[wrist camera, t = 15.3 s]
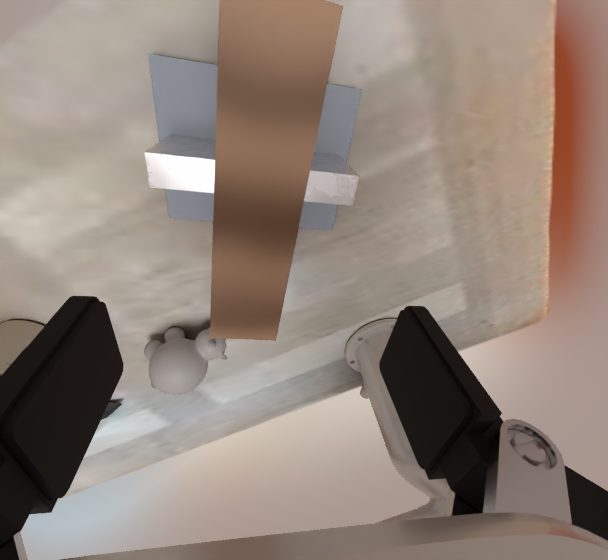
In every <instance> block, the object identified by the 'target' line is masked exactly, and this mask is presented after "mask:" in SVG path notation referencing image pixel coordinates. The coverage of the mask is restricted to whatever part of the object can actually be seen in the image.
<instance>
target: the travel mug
mask: <svg viewBox="0 0 608 560" xmlns="http://www.w3.org/2000/svg"><path fill="white" fill-rule="evenodd" d="M43 328H44V326H43V325H40V324H37V323H34V322H29V321H22V320H12V321H6V322H3V323H1V324H0V376H1V375H2V374H3V373H4V372H5V371H6V370H7V368H8V367H9V366H10V365H11V364H12V363H13V361H14V360H15V359H16V358H17V357H18V356H19V354H20V353H21V352H22V351H23V350H24V349H25V348H26V347H27V346H28V345H29V344H30V343H31V342H32V340H33V339H34V338H35V337H36V336H37V335H38V333H39V332H40V331H41V330H42V329H43Z"/></svg>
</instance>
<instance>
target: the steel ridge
mask: <svg viewBox="0 0 608 560" xmlns="http://www.w3.org/2000/svg"><path fill="white" fill-rule="evenodd" d="M215 145H216V140H213V139H205V138H197V137H189V136H181V135H172V134H170V135H168V136H167V137H165V138H164V139H163V140H161V141H160V142H158V143H157V144H155V145H154V146H153V147H151V148H150V149H148V150H147V151H146V152H145V158H146V165H147V171H148V178H149V184H150V187H151V188H162V189H173V190H184V191H195V192H206V193H214V180H215ZM358 180H359V175H358V174H357V173H356V172H355V171H354V170H353V169H352V168H351V167H350V166H349V165H348V164H347V163H346V162H345V161H344V160H343V159H342V158H341V157H340V156H339V155H335V154H327V153H319V152H314V153H313V158H312V163H311V168H310V173H309V178H308V183H307V188H306V193H305V198H304V201H305V202H316V203H327V204H338V205H349V206H352V205H353V201H354V196H355V192H356V188H357V184H358Z"/></svg>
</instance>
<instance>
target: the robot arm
mask: <svg viewBox="0 0 608 560" xmlns="http://www.w3.org/2000/svg"><path fill="white" fill-rule="evenodd" d="M345 356H346V359H347V362H348V364H349V366H350V367H351V368H352V369H353V370H355V371H357V372H360V373H361V375H362V378H363V383H364V384H363V386H362V389H361V391H360V394H361V396H362V397H363V398H370V401H371V404H372V407H373V410H374V413H375V415H376V418H377V421H378V424H379V427H380V430H381V433H382V436H383V438H384V442H385V444H386V447H387V450H388V453H389V456H390V459H391V461H392V463H393V465H394V467H395V468H396V470H397V471H398V472H399V474H400V475H401V476H402V477H403V478H404V479H405V480H406V481H408V482H409V483H410V484H411V485H413V486H414V487H416V488H417V489H419V490H420V491H422V492H423V493H425V494H426V495H428V496H429V497H430V501H429V503H427V504H426V505H423V506H421V507H419V508H417V509H415V510H412V511H409V512H406V513H403V514H400V515H398V516H394V517H392V518H388V519H386V520H383V521H380V522H378V523H375V524H367V525H357V526H347V527H339V528H329V529H320V530H311V531H302V532H293V533H284V534H276V535H266V536H258V537H249V538H239V539H230V540H222V541H212V542H203V543H196V544H186V545H178V546H169V547H161V548H152V549H143V550H135V551H126V552H117V553H109V554H100V555H91V556H84V557H77V558H69V559H61V560H608V491H606V490H605V489H603V488H601V487H600V486H598V485H596V484H595V483H593V482H591V481H590V480H588V479H586V478H585V477H583V476H581V475H580V474H578V473H576V472H575V471H573V470H572V469H570V468H568V467H567V466H565V465H564V462H563V458H562V455H561V453H560V452H559V450H558V449H557V447H556V445H555V444H554V443H553V442H552V441H551V440H550V439H549V438H548V437H547V436H546V435H545V434H544V433H542V432H541V431H540V430H539V429H537V428H536V427H534V426H532V425H531V424H529V423H526V422H524V421H521V420H516V419H509V420H506V421H505V422H503V421H502V419H501V418H500V415H501V414H502V413H501V411H500V410H499V409H498V407H497V406H496V404H495V403H494V402H493V400H492V399H491V398H490V396H489V395H488V393H487V392H486V391H485V389H484V388H483V386H482V385H481V384H480V382H479V381H478V379H477V378H476V377H475V375H474V374H473V373H472V371H471V370H470V368H469V367H468V366H467V364H466V363H465V361H464V360H463V359H462V357H461V356H460V355H459V353H458V352H457V350H456V349H455V347H454V346H453V345H452V343H451V342H450V340H449V339H448V338H447V336H446V335H445V334H444V332H443V331H442V329H441V328H440V327H439V325H438V324H437V322H436V321H435V320H434V318H433V317H432V315H431V314H430V313H429V311H428V310H427V309H426V308H425V307H423V306H407V307H406V308H405V309H404V310H402V311H400V313H399V316H398V318H397V319H383V320H379V321H375V322H373V323H370V324H368V325H366V326H364V327H362V328H361V329H360V330H358V331H357V332H356V333H355V334H354V335H353V336H352V337H351V338H350V340H349V341H348V343H347V345H346V349H345ZM122 372H123V361H122V358H121V354H120V351H119V348H118V344H117V341H116V338H115V334H114V331H113V328H112V324H111V321H110V318H109V314H108V311H107V308H106V305H105V303H104V302H100V301H99V299H98V298H97V297H93V296H72V297H70V298H69V299H68V300H67V301H66V302H65V303H64V304H63V306H62V307H61V308H60V309H59V310H58V311H57V312H56V314H55V315H54V316H53V317H52V318H51V319H50V321H49V322H48V323H47V324H46V325H45V326H44V328H43V329H42V330H41V331H40V332H39V333H38V335H37V336H36V337H35V338H34V339H33V340H32V342H31V343H30V344H29V345H28V346H27V347H26V348H25V349H24V350H23V351H22V352H21V353H20V354H19V356H18V357H17V358H16V359H15V360H14V361H13V363H12V364H11V365H10V366H9V367H8V368H7V370H6V371H5V372H4V373H3V374H2V375H1V376H0V560H27V556H26V552H25V548H24V545H23V541H22V537H21V534H20V531H21V529H22V527H23V526H24V524H25V522H26V520H27V518H28V516H29V514H37V513H49V512H52V509H53V507H54V505H55V503H56V501H57V499H58V498H62V497H63V496H64V495H65V494H66V493H67V491H68V490H69V488H70V486H71V483H72V481H73V479H74V477H75V475H76V473H77V470H78V468H79V466H80V464H81V462H82V460H83V457H84V455H85V453H86V451H87V449H88V447H89V444H90V442H91V440H92V438H93V436H94V434H95V431H96V429H97V427H98V425H99V423H100V421H101V418H102V416H103V414H104V412H105V410H106V408H107V405H108V403H109V401H110V399H111V397H112V395H113V392H114V390H115V388H116V386H117V384H118V382H119V379H120V377H121V375H122Z"/></svg>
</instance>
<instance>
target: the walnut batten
mask: <svg viewBox="0 0 608 560" xmlns="http://www.w3.org/2000/svg"><path fill="white" fill-rule="evenodd" d="M342 9H343V6H341V5H338V4H334V3H331V2H328V1H324V0H220V5H219V40H218V75H217V110H216V145H215V180H214V215H213V250H212V285H211V320H210V338H231V339H254V340H276V337H277V332H278V327H279V322H280V317H281V312H282V307H283V302H284V297H285V292H286V287H287V282H288V277H289V272H290V267H291V262H292V257H293V253H294V248H295V243H296V238H297V233H298V228H299V223H300V218H301V213H302V208H303V203H304V198H305V193H306V188H307V183H308V178H309V173H310V168H311V163H312V158H313V153H314V148H315V143H316V138H317V133H318V128H319V123H320V118H321V113H322V108H323V103H324V98H325V93H326V88H327V83H328V78H329V73H330V69H331V64H332V59H333V54H334V49H335V44H336V39H337V34H338V29H339V24H340V19H341V14H342Z"/></svg>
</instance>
